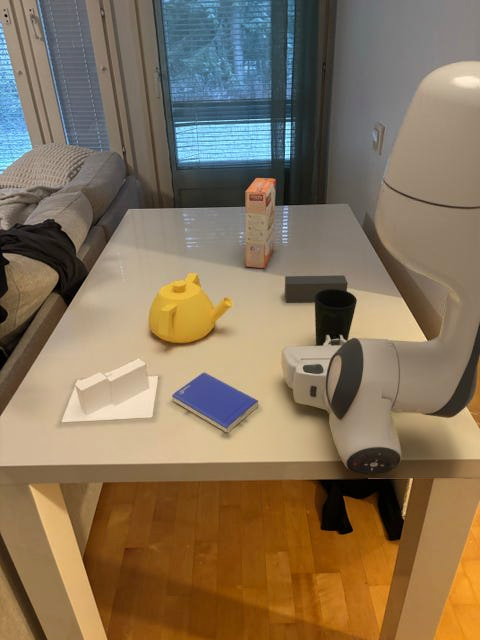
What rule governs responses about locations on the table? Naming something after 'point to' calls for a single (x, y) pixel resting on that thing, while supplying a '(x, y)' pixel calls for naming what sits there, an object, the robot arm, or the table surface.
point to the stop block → (310, 287)
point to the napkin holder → (113, 395)
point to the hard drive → (215, 401)
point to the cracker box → (259, 222)
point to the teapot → (184, 311)
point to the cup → (333, 314)
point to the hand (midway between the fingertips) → (333, 338)
